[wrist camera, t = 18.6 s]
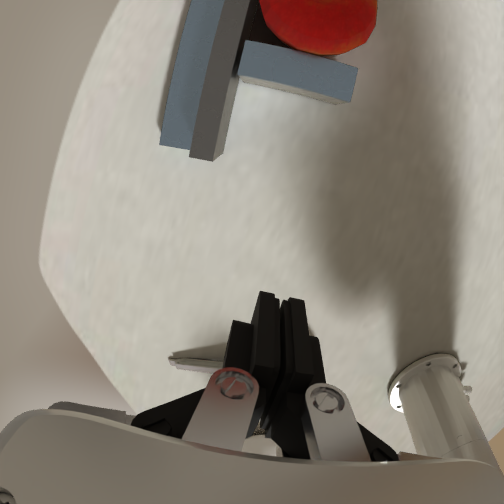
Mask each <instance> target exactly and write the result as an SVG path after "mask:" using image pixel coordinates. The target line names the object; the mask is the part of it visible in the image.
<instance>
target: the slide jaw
mask: <svg viewBox="0 0 504 504" xmlns="http://www.w3.org/2000/svg"><path fill="white" fill-rule="evenodd" d="M357 72H358V68H356V67H353V66H350V65H347V64H343V63H340V62H337V61H334V60H330V59H327V58H323V57H320V56H316V55H312V54H309V53H305V52H301V51H297V50H292V49H288V48H284V47H279V46H275V45H270V44H265V43H260V42H254V41H249V40H245V44H244V49H243V53H242V57H241V61H240V65H239V69H238V73H237V75H238V76H239V77H240V79H241V80H242V81H243V82H244V83H250V84H255V85H260V86H264V87H269V88H274V89H278V90H282V91H287V92H291V93H295V94H299V95H303V96H306V97H310V98H314V99H318V100H321V101H325V102H328V103H332V104H335V105H336V104H343V103H349V102H350V101H351V97H352V93H353V89H354V85H355V80H356V76H357Z"/></svg>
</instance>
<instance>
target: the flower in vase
mask: <svg viewBox="0 0 504 504" xmlns="http://www.w3.org/2000/svg"><path fill="white" fill-rule="evenodd" d="M276 447H277V444H276V443H275V442H274V441H273V440H272V439H270V438H265V435H254V436H251V437H249V438H247V439H245V441H244V445H243V448H242V451H241V452H248V453H254V454H261V455H269V456H276Z"/></svg>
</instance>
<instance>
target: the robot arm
mask: <svg viewBox="0 0 504 504" xmlns="http://www.w3.org/2000/svg"><path fill="white" fill-rule="evenodd" d="M460 376H461V366H460V364H459V362H458V361H457V359H456V358H455V357H454V356H452V355H449V354H443V353H442V354H434V355H430V356H427V357H424V358H421V359H419V360H418V361H416V362H414V363H412V364H411V365H409V366H408V367H407V368H405V369H404V370H403V371H402V372H401V373H400V374H399V375H398V376H397V377H396V378H395V380H394V381H393V382H392V384H391V386H390V388H389V392H388V398H389V401H390V404H391V406H392V407H393V408H394V409H395V410H397V411H399V412H404V415H405V418H406V421H407V424H408V427H409V430H410V433H411V436H412V439H413V442H414V445H415V449H416V452H417V454H412V453H406V452H399V453H398V454H396V452H395V451H394V450H393V449H392V448H391V447H390V446H388V445H387V444H386V443H384V442H383V441H382V440H380V439H379V438H378V437H376V436H375V435H374V434H372V433H371V432H370V431H369V430H367V429H366V428H365V427H363V426H362V425H361V424H359V423H358V422H357V421H356V418H355V416H354V413H353V410H352V408H351V405H350V403H349V400H348V398H347V396H346V395H345V394H344V393H343V392H342V391H341V390H340V389H339V388H337V387H335V386H333V385H330V384H326V380H325V374H324V367H323V361H322V355H321V349H320V343H319V339H318V338H317V337H314V336H309V330H308V323H307V316H306V309H305V302H304V300H300V299H296V298H291V297H290V298H289V299H288V301H287V300H283V301H282V304H281V307H280V301H279V299H277V298H275V294H273V293H268V292H263V291H260V292H259V296H258V299H257V303H256V306H255V310H254V313H253V317H252V321H251V324H249V323H245V322H240V321H236V320H233V322H232V326H231V330H230V334H229V339H228V343H227V347H226V352H225V357H224V362H223V367H222V369H219V370H217V371H216V372H214V373H213V375H212V376H211V378H210V380H209V382H208V384H207V386H206V388H204V389H201V390H199V391H196V392H194V393H191V394H189V395H186V396H184V397H181V398H179V399H176V400H173V401H171V402H168V403H166V404H163V405H160V406H157V407H155V408H152V409H149V410H146V411H144V412H142V413H140V414H138V415H137V416H133V415H126V411H119V410H112V409H106V408H99V407H93V406H87V405H82V404H77V403H71V402H58V403H54V404H53V405H52V406H50V407H49V408H48V409H39V410H31V411H27V412H24V413H22V414H21V415H19V416H17V417H15V418H14V419H13V420H12V421H11V422H10V423H9V424H8V425H7V426H6V427H5V428H4V429H3V430H2V431H1V433H0V504H504V475H503V473H502V471H501V469H500V467H499V465H498V463H497V461H496V458H495V456H494V454H493V452H492V450H491V448H490V446H489V443H488V441H487V439H486V437H485V434H484V432H483V430H482V428H481V426H480V424H479V422H478V420H477V418H476V416H475V413H474V411H473V409H472V407H471V405H470V403H469V396H468V395H465V394H470V393H471V392H472V387H471V386H463V385H462V383H461V381H460ZM260 418H261V419H260ZM259 420H260V428H261V429H265V438H270V439H272V440H273V441H274V442H275V443H276V444H277V447H276V456H269V455H261V454H254V453H248V452H241V451H242V448H243V445H244V441H245V439H247V438H249V437H251V436H252V434H253V432H254V430H255V428H256V427H257V425H258V422H259ZM13 497H14V498H13Z"/></svg>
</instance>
